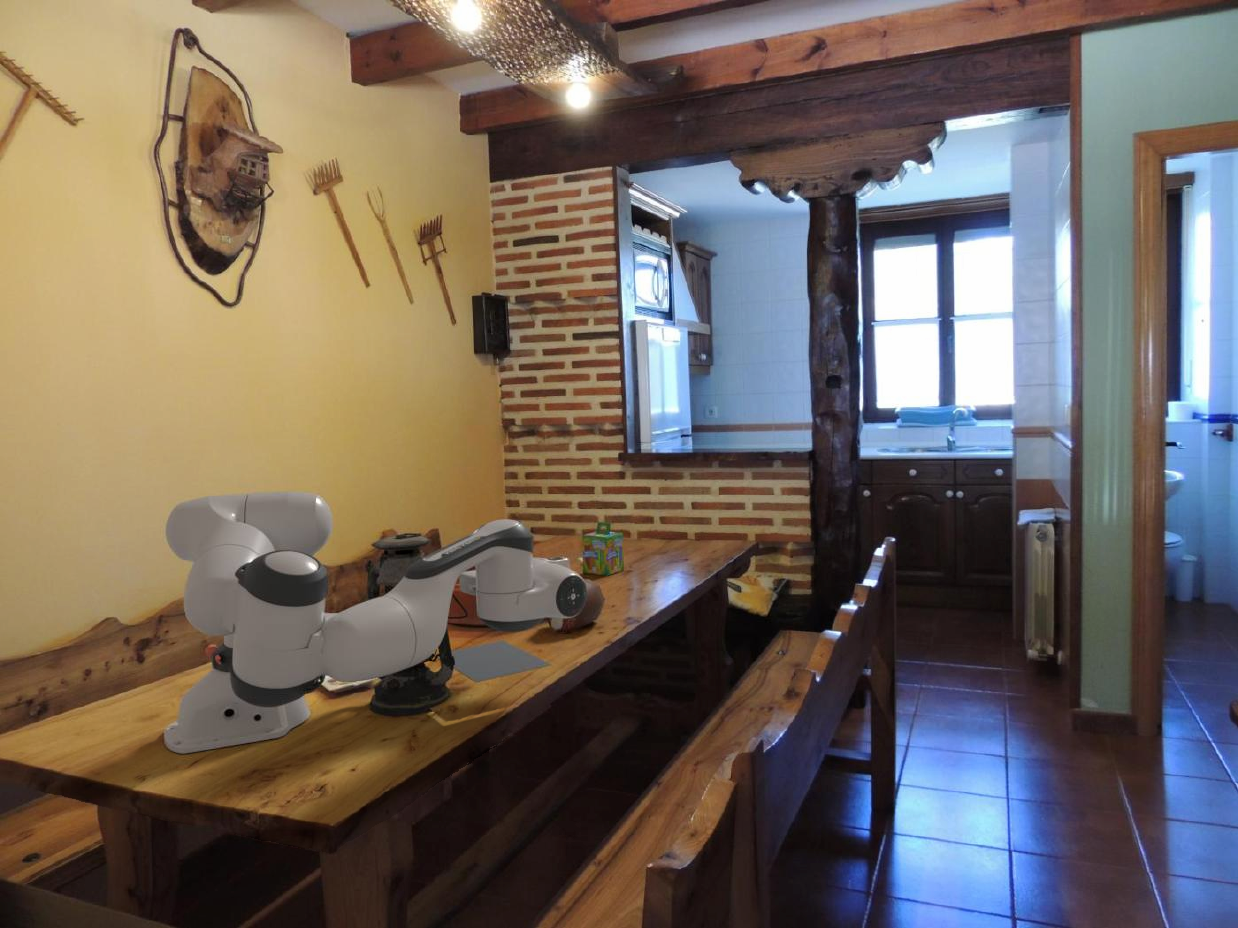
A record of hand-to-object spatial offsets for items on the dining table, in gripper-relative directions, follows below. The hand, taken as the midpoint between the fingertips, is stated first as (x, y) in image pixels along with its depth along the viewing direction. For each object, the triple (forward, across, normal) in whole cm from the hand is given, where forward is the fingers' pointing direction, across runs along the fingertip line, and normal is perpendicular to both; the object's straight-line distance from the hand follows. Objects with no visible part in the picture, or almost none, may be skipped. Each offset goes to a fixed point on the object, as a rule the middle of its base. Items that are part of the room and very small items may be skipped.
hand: (496, 570), depth 172 cm
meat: (+17, +27, -20) cm, 38 cm away
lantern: (-5, -19, -20) cm, 28 cm away
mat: (+5, 0, -20) cm, 20 cm away
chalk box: (+64, +64, -20) cm, 93 cm away
